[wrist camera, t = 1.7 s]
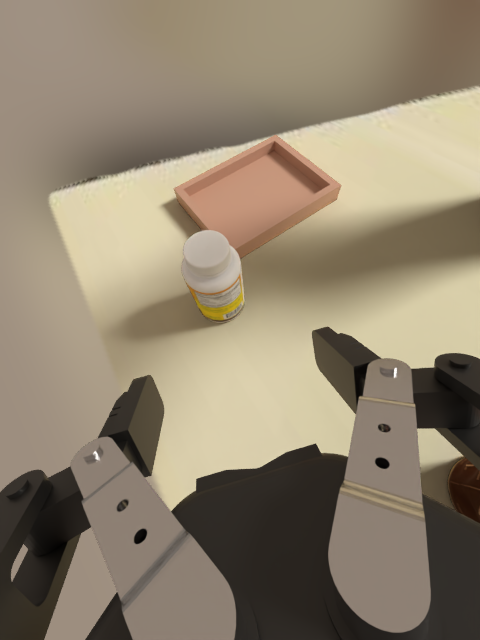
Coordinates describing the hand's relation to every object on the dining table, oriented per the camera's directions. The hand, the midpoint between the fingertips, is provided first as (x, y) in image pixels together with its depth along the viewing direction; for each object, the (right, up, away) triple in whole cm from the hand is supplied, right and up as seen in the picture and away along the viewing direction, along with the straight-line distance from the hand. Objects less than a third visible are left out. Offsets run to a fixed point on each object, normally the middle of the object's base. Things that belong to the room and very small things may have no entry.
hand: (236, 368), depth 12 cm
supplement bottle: (-2, +4, +18) cm, 19 cm away
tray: (+2, +20, +25) cm, 31 cm away
